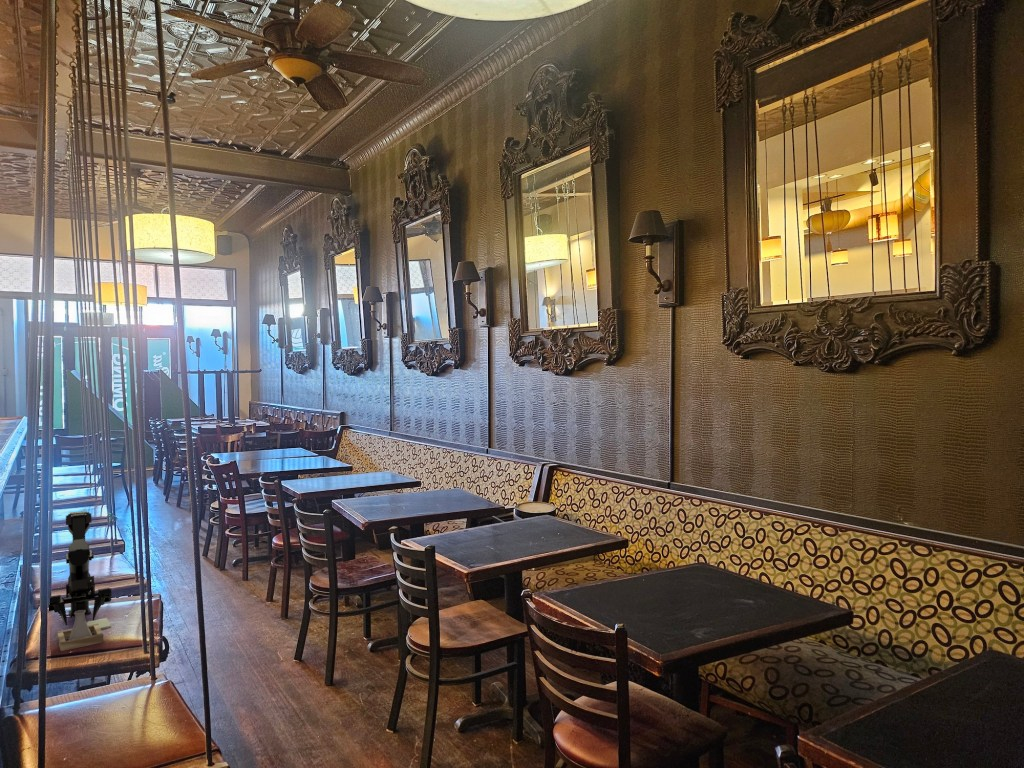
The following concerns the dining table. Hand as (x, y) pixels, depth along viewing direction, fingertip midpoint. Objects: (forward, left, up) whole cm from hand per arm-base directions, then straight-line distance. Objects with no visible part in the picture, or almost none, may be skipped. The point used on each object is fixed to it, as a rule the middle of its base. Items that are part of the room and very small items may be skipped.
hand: (80, 622), depth 229 cm
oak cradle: (-1, 0, -7) cm, 7 cm away
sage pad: (-12, +6, -7) cm, 15 cm away
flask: (-1, 0, -7) cm, 7 cm away
